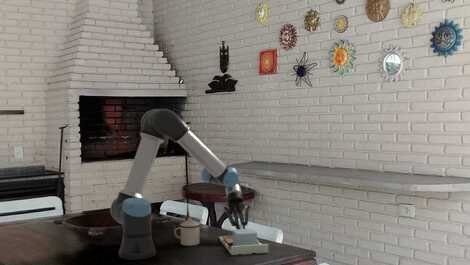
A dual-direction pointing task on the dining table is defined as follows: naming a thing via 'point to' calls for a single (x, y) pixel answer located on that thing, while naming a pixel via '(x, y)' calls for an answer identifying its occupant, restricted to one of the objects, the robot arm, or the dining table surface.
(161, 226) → the dining table surface
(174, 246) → the dining table surface
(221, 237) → the tray
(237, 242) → the slate block
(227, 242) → the trap tiles
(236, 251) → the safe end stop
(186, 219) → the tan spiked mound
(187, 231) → the teacup with lid
